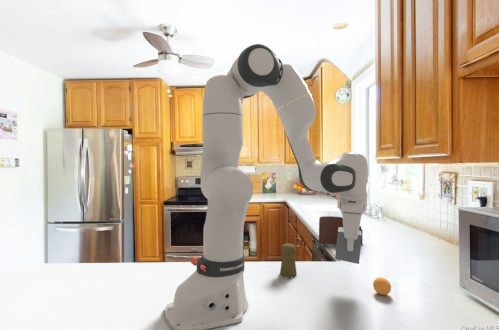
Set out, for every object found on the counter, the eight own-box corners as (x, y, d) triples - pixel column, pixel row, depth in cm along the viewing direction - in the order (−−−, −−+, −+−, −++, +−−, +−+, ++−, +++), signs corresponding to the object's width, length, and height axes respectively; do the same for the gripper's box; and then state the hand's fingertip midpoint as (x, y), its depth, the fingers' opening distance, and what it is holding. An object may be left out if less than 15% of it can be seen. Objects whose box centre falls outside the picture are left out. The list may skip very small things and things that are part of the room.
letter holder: (359, 249, 129) (359, 219, 129) (318, 242, 140) (318, 215, 140) (362, 243, 138) (363, 216, 138) (323, 237, 148) (324, 212, 148)
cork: (296, 279, 94) (297, 247, 94) (279, 277, 95) (279, 246, 95) (297, 272, 100) (297, 242, 100) (280, 270, 101) (281, 241, 101)
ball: (385, 283, 80) (377, 297, 81) (397, 286, 82) (389, 300, 83) (374, 272, 85) (367, 285, 86) (386, 275, 86) (378, 288, 87)
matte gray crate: (335, 259, 85) (337, 231, 85) (336, 252, 91) (338, 226, 91) (359, 264, 82) (361, 235, 82) (358, 257, 89) (361, 230, 89)
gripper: (342, 199, 98) (340, 237, 98) (340, 206, 78) (338, 254, 78) (361, 201, 95) (359, 240, 95) (364, 208, 76) (361, 257, 76)
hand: (350, 246), depth 87 cm, fingers closed on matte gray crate, 7 cm apart
